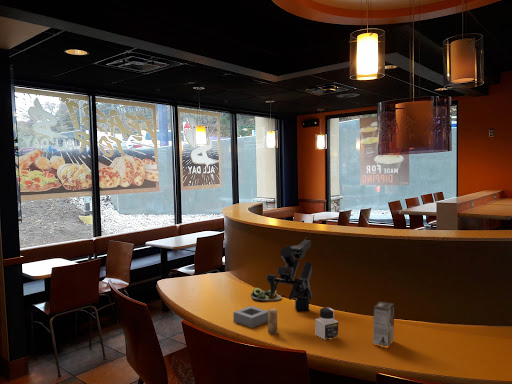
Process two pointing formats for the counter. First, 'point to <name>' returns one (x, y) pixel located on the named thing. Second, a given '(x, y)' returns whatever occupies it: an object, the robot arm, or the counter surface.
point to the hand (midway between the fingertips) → (280, 298)
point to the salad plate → (263, 295)
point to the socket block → (251, 316)
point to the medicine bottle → (326, 324)
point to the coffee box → (383, 323)
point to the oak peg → (272, 321)
